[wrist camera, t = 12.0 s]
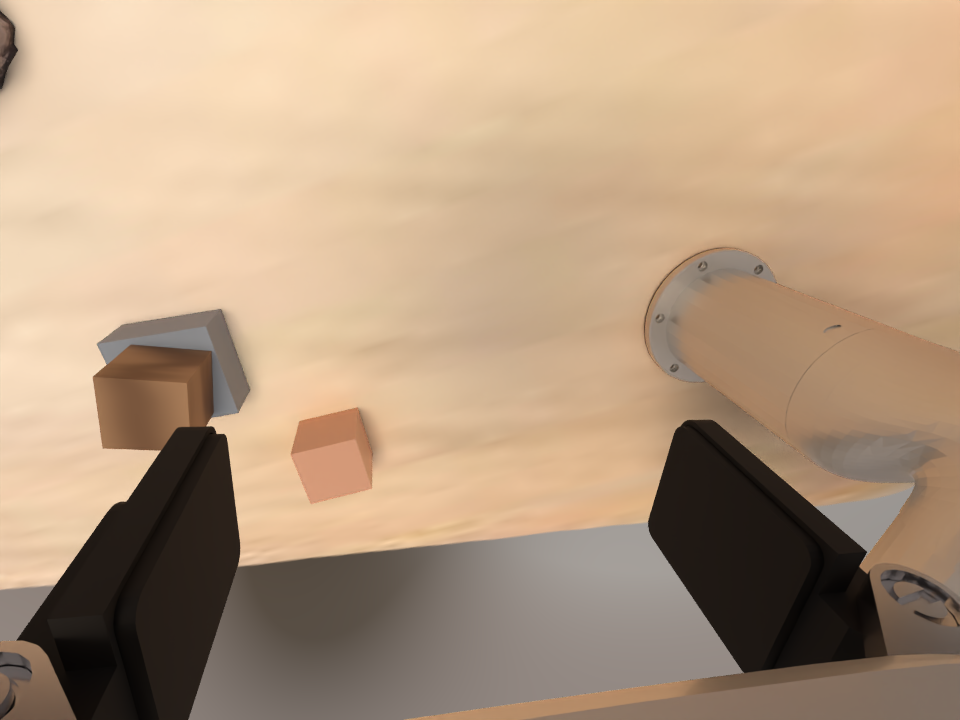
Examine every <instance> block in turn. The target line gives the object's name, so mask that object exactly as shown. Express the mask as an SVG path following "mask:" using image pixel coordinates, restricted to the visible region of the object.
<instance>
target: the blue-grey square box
mask: <svg viewBox="0 0 960 720" xmlns="http://www.w3.org/2000/svg"><path fill="white" fill-rule="evenodd" d="M131 344H132V345H144V346H156V347H168V348H181V349H193V350H205V351H212V376H213V403H214V413H213V415H212V417H211V418H213V417H218V416H224V415H229V414H235V413H239V411H240V409H241V407H242V405H243V403H244V401H245V399H246V397H247V395H248V393H249V391H250V389H249V386H248V383H247V380H246V377H245V375H244V372H243V369H242V366H241V364H240V361H239V358H238V355H237V352H236V350H235V347H234V344H233V341H232V338H231V336H230V333H229V330H228V327H227V324H226V322H225V319H224V316H223V313H222V311H221V309H218V310H212V311H206V312H200V313H193V314H187V315H181V316H175V317H168V318H162V319H156V320H150V321H143V322H137V323H131V324H125V325H121V326H120V327H119V328H117V329H116V330H115V331H113V332H112V333H111V334H110V335H108V336H107V337H106V338H104V339H103V340H102V341H100V342H99V343H98V344H97V346H98V348H99V350H100V352H101V354H102V356H103V358H104V360H105V362H106V364H108V363H110V362H111V361H112V360H113V359H114V358H116V357H117V356H118V355H119V354H120V353H121V352H123V351H124V350H125V349H126V348H127V347H128V346H130V345H131Z"/></svg>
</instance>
